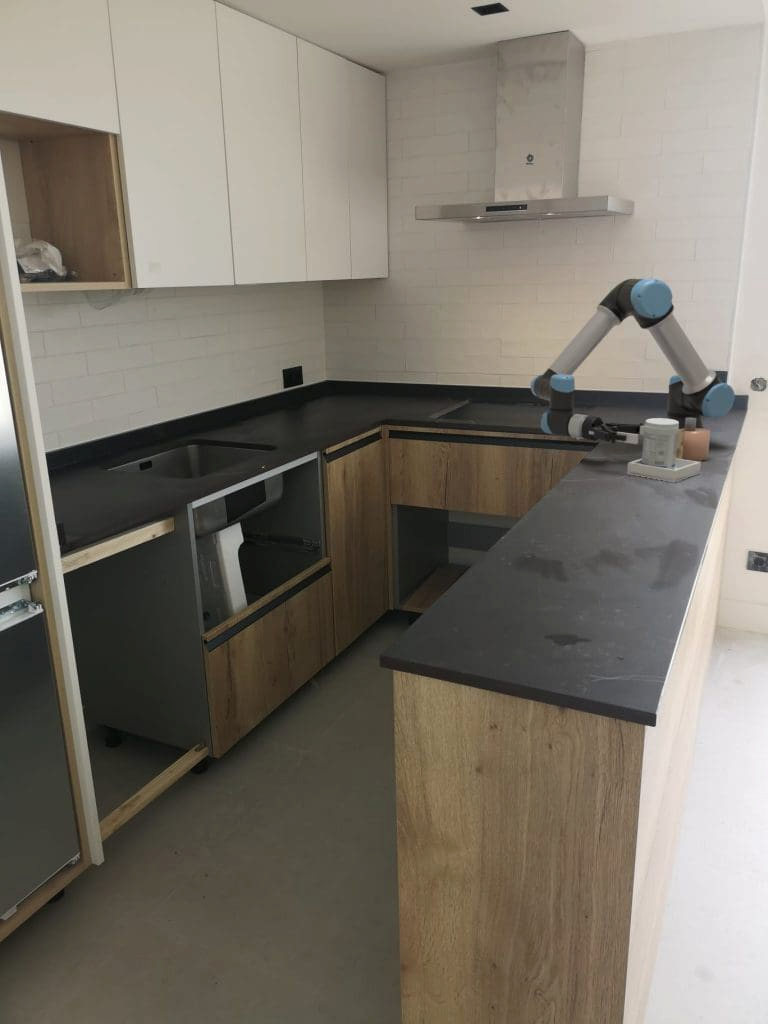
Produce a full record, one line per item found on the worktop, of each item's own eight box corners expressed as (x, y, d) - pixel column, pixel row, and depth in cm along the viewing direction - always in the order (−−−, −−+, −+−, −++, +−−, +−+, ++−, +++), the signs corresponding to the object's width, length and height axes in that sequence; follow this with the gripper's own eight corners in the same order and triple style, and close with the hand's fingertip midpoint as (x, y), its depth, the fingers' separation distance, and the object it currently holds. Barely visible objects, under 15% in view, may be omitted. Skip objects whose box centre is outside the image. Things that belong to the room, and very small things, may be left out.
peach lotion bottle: (686, 453, 264) (689, 414, 260) (712, 457, 257) (716, 417, 254) (672, 458, 258) (676, 418, 254) (699, 462, 251) (703, 421, 248)
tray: (653, 465, 248) (653, 454, 247) (699, 473, 237) (700, 462, 236) (627, 474, 238) (627, 462, 237) (674, 482, 228) (675, 470, 227)
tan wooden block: (676, 459, 255) (678, 426, 252) (681, 460, 254) (685, 427, 251) (656, 466, 248) (659, 432, 245) (662, 467, 246) (665, 433, 243)
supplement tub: (657, 464, 244) (661, 416, 240) (681, 471, 236) (687, 422, 232) (633, 468, 240) (638, 419, 235) (657, 475, 232) (663, 425, 228)
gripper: (606, 433, 263) (668, 442, 248) (563, 445, 246) (626, 455, 231) (608, 410, 261) (670, 418, 246) (564, 420, 244) (628, 429, 229)
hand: (649, 436), depth 239 cm, fingers open, 13 cm apart
